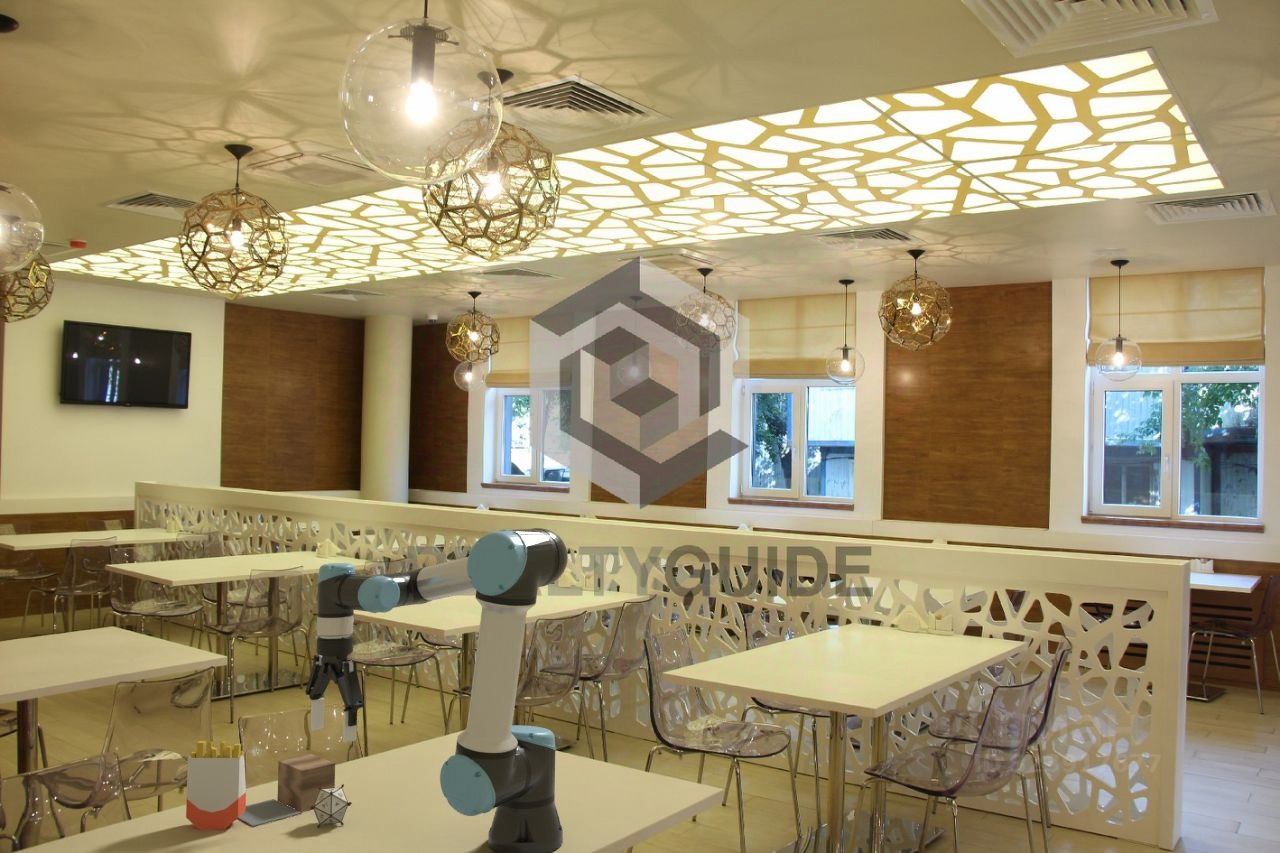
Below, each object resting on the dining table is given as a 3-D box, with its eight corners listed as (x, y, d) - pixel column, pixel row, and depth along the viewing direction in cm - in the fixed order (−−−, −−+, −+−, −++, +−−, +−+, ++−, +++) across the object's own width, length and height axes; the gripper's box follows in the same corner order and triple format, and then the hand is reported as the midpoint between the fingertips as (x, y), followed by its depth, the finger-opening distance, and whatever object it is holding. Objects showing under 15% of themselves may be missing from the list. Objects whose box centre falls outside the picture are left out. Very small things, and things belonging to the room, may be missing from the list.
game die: (334, 845, 206) (335, 816, 200) (300, 827, 207) (300, 798, 202) (359, 812, 213) (361, 783, 208) (326, 795, 215) (327, 767, 209)
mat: (301, 813, 214) (301, 812, 214) (253, 826, 206) (253, 825, 206) (273, 800, 223) (273, 799, 223) (225, 812, 214) (225, 810, 214)
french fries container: (195, 821, 209) (197, 736, 210) (245, 821, 209) (248, 736, 210) (185, 829, 204) (188, 742, 205) (237, 829, 204) (239, 742, 205)
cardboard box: (334, 803, 221) (335, 763, 221) (301, 812, 215) (302, 771, 215) (309, 792, 228) (310, 753, 229) (277, 800, 222) (278, 760, 223)
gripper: (382, 640, 204) (380, 742, 203) (322, 627, 221) (319, 721, 220) (349, 644, 199) (347, 750, 198) (290, 631, 216) (288, 727, 215)
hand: (333, 735), depth 209 cm, fingers open, 13 cm apart
